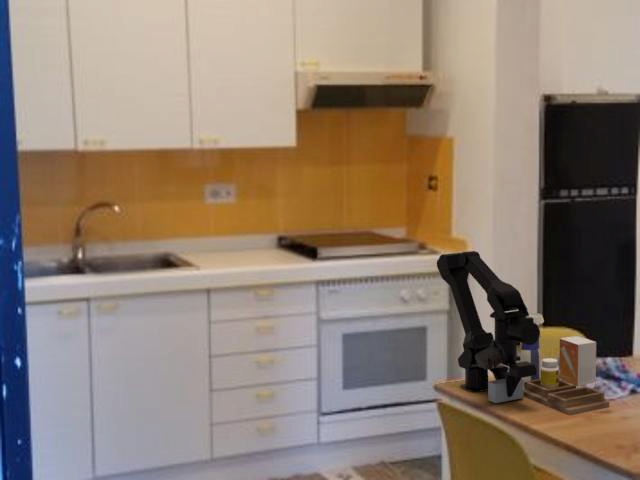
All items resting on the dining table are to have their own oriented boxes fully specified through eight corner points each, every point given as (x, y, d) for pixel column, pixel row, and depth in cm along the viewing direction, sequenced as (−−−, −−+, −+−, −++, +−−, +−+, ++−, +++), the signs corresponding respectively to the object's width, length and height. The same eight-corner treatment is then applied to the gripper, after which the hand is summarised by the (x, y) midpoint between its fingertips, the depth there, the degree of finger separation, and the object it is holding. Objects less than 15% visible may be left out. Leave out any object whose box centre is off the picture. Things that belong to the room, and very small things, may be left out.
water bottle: (524, 388, 244) (524, 298, 241) (506, 381, 251) (506, 293, 248) (549, 385, 247) (550, 296, 244) (531, 377, 254) (531, 291, 252)
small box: (558, 383, 248) (558, 338, 246) (577, 380, 250) (577, 335, 249) (577, 391, 240) (578, 344, 239) (596, 388, 243) (597, 341, 241)
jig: (518, 394, 239) (518, 382, 239) (556, 386, 245) (556, 375, 244) (569, 414, 221) (569, 402, 221) (609, 406, 227) (609, 394, 226)
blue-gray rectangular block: (488, 400, 233) (488, 381, 233) (516, 394, 237) (516, 376, 236) (495, 403, 230) (495, 384, 230) (523, 397, 234) (523, 379, 234)
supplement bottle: (559, 393, 235) (559, 362, 234) (540, 393, 236) (540, 362, 235) (558, 388, 239) (558, 357, 238) (540, 387, 240) (540, 357, 239)
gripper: (459, 333, 237) (459, 390, 239) (502, 348, 220) (502, 409, 222) (493, 328, 241) (493, 384, 243) (538, 342, 225) (538, 402, 227)
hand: (505, 395), depth 234 cm, fingers closed on blue-gray rectangular block, 3 cm apart
